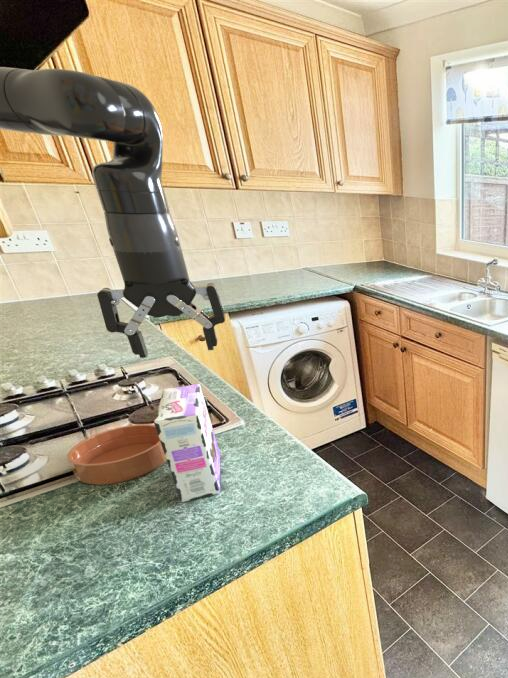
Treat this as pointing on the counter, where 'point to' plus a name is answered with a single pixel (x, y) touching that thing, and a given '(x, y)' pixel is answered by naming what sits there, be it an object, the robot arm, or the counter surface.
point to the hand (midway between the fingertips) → (178, 352)
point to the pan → (117, 455)
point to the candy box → (189, 442)
